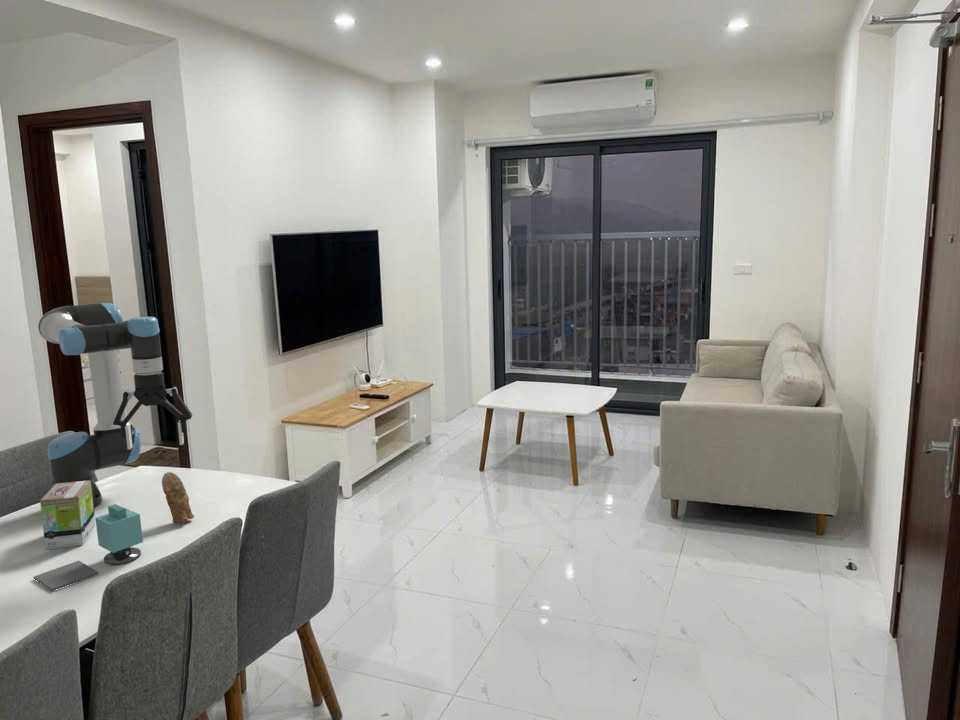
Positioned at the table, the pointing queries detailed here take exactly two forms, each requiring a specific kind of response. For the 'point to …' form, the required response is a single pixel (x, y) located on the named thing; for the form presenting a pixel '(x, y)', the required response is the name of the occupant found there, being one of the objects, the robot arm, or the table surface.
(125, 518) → the cap
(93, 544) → the table surface
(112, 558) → the post
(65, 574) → the pad
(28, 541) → the table surface
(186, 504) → the figurine
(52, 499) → the tea box
